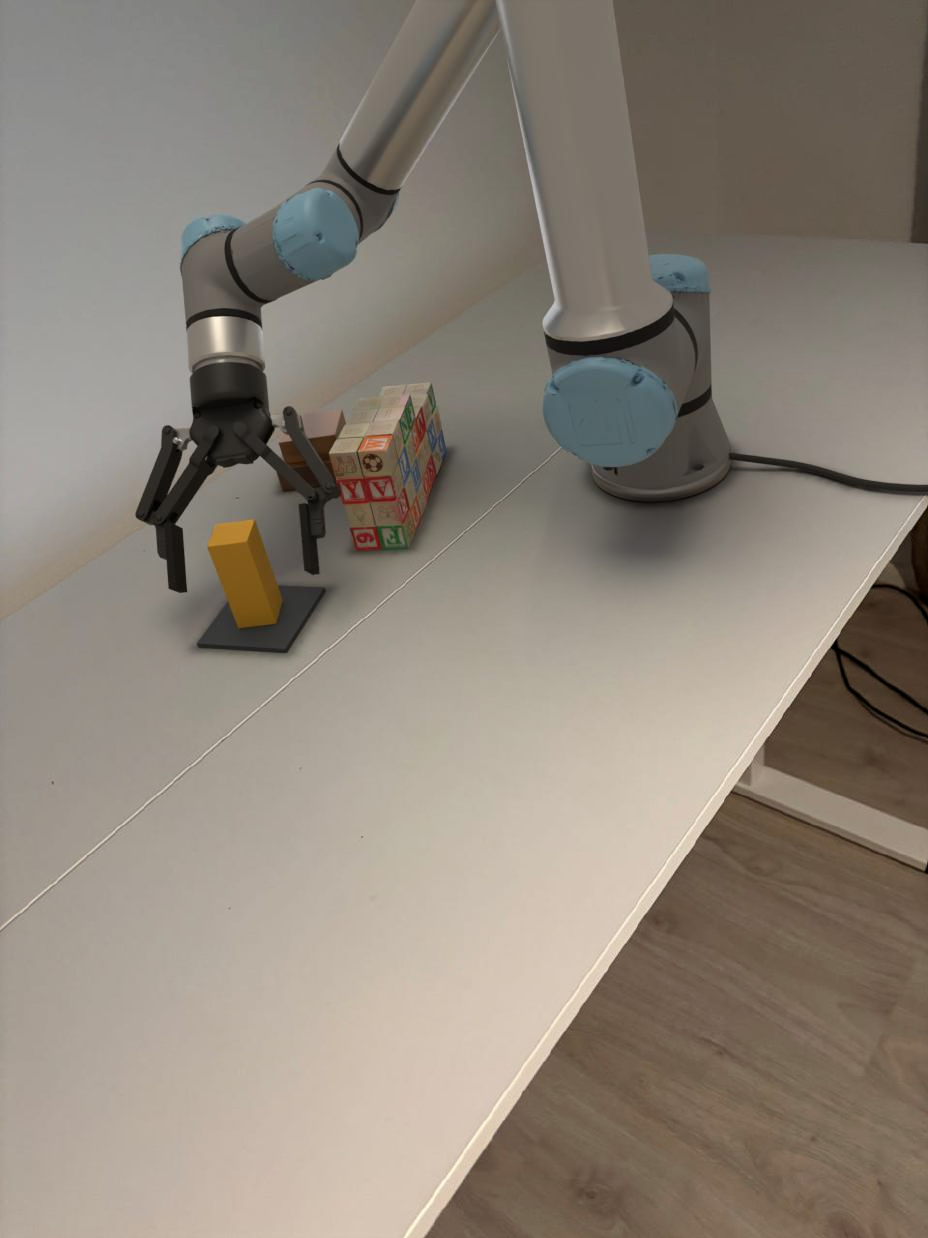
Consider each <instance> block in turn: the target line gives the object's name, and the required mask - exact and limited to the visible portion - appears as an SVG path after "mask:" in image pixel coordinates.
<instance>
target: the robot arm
mask: <svg viewBox="0 0 928 1238" xmlns="http://www.w3.org/2000/svg"><path fill="white" fill-rule="evenodd" d="M615 15H616V14H615V9H614V0H415V2H414V4H413V6H412V7H411V9H410V11H409V13H408V15H407V17H406V19H405V21H404V22H403V24H402V26H401V27H400V29H399V31H398V33H397V35H396V37H395V39H394V40H393V42H392V44H391V47H390V48H389V50H388V52H387V54H386V55H385V56H384V59H383V61H382V62H381V64H380V66H379V68H378V70H377V72H376V73H375V76H374V78H373V79H372V81H371V83H370V84H369V86H368V88H367V90H366V92H365V94H364V96H363V97H362V99H361V101H360V102H359V105H358V106H357V107H356V110H355V112H354V114H353V116H352V117H351V119H350V121H349V123H348V125H347V126H346V128H345V130H344V132H343V134H342V135H341V138H340V139H339V143H338V145H337V146H336V148H335V150H334V151H333V153H332V154H331V156H330V159H329V160H328V162H327V163H326V165H325V167H324V169H323V171H322V172H321V173H320V174H319V175H318V176H317V177H315V178H314V179H313V180H311V181H309V183H307V184H306V185H304V186H303V187H302V188H301V189H299V190H297V191H296V192H295V193H293V194H292V195H290V196H289V197H288V198H286V199H284V200H283V201H282V202H280V203H279V204H277V205H275V206H274V207H273V208H271V209H270V210H268V211H266V212H264V213H262V214H261V215H259V216H257V217H256V218H254V219H252V220H250V221H249V222H246V221H244V220H243V219H240V218H239V217H236V216H232V215H230V214H222V213H214V214H211V215H210V216H208V217H207V216H199V217H196V218H194V219H192V220H191V221H189V222H188V223H187V224H186V225H185V226H184V228H183V230H182V233H181V235H180V236H181V237H180V262H179V272H180V276H181V283H182V292H183V293H182V294H183V306H184V316H185V317H184V319H185V331H186V346H187V348H186V349H187V361H188V362H187V365H188V371H189V372H190V373H191V375H190V376H189V389H190V402H191V403H190V404H191V413H192V423H191V425H190V427H184V428H175V427H174V426H172V425H169V424H166V425H164V426H163V427H162V429H161V439H160V440H161V441H160V442H161V443H160V449H159V451H158V454H157V457H156V459H155V462H154V465H153V467H152V470H151V472H150V474H149V477H148V480H147V482H146V484H145V487H144V489H143V492H142V495H141V497H140V500H139V502H138V506H137V507H136V510H135V513H134V515H135V518H136V519H137V520H139V521H140V522H142V523H145V524H147V525H149V526H154V528H155V535H156V536H155V538H156V539H155V540H156V553H157V555H158V557H159V558H160V559H163V560H165V561H166V574H167V587H168V589H169V590H170V591H173V592H176V593H178V594H183V593H188V583H187V570H186V569H187V567H186V555H185V540H184V528H183V527H181V526H179V525H177V522H178V521H179V519H180V518H181V517H182V515H183V514H184V512H185V511H186V509H187V507H189V505H190V503H191V502H192V500H193V499H194V497H195V496H196V495H197V493H198V492H199V490H200V489H201V487H202V485H203V484H204V482H205V481H206V480H207V478H208V477H209V476H211V475H212V474H213V473H214V472H215V470H217V467H218V466H219V467H222V468H224V469H226V468H232V467H235V466H237V465H253V464H254V462H255V461H257V460H258V459H259V458H262V459H263V460H264V461H265V462H266V463H267V464H268V465H269V466H270V467H271V468H272V469H273V470H274V471H275V472H276V471H277V472H278V473H279V474H280V475H281V476H282V477H283V478H284V479H285V480H286V481H287V482H288V483H289V484H290V485H291V486H293V487H294V488H295V489H294V490H296V492H297V493H299V494H300V495H301V496H302V497H303V498H304V499H305V500H306V502H302V503H298V515H299V528H300V538H301V549H302V558H303V559H302V560H303V561H302V562H303V571H305V572H306V573H308V574H310V575H311V576H315V575H320V574H321V571H320V561H319V550H318V540H319V539H325V538H326V534H327V528H326V517H325V506H326V504H327V503H328V502H329V501H332V500H333V499H336V500H337V499H339V498H341V497H340V496H341V489H340V487H339V486H338V484H337V483H336V481H335V480H334V478H333V477H332V475H331V473H330V472H329V470H328V469H327V467H326V466H325V464H324V463H323V461H322V459H321V458H320V456H319V455H318V453H317V452H316V450H315V448H314V447H313V445H312V444H311V442H310V441H309V439H308V438H307V436H306V434H305V431H304V426H303V421H302V417H301V416H300V415H301V414H300V413H299V412H298V411H297V410H296V409H295V408H294V407H293V406H290V405H288V406H284V408H283V410H282V412H279V413H275V414H271V412H270V402H269V389H268V380H267V379H268V378H267V375H266V373H265V372H264V371H265V369H266V359H265V357H266V356H265V346H264V345H265V344H264V333H263V321H262V320H263V319H262V308H263V306H266V305H268V304H270V303H273V302H275V301H277V300H279V299H280V298H283V297H284V296H287V295H289V294H291V293H294V292H295V291H298V290H300V289H302V288H305V287H307V286H309V285H311V284H313V283H315V282H319V281H321V280H322V281H324V280H326V279H329V278H332V276H333V275H334V274H335V273H337V272H338V271H340V270H342V269H344V268H345V267H347V266H349V265H350V264H351V263H352V262H353V261H354V260H355V258H356V256H357V255H358V250H357V248H358V246H359V245H360V244H361V243H362V242H363V241H364V240H366V239H367V238H368V237H370V236H371V235H372V234H374V233H375V232H377V231H379V230H380V229H381V228H382V227H383V226H384V225H385V224H386V223H387V221H388V220H389V219H390V218H391V216H392V215H393V214H394V212H395V211H396V209H397V207H398V203H399V198H400V191H401V189H402V188H403V187H404V184H405V182H406V181H407V179H408V178H409V176H410V174H411V173H412V171H413V170H414V169H415V167H416V165H417V164H418V162H419V160H420V158H421V157H422V155H423V154H424V152H425V150H426V149H427V147H428V146H429V144H430V142H431V141H432V139H433V138H434V136H435V134H436V133H437V131H438V130H439V128H440V127H441V125H442V123H443V121H444V120H445V118H446V117H447V116H448V113H449V112H450V110H451V109H452V107H453V106H454V104H455V103H456V101H457V100H458V98H459V96H460V95H461V93H462V92H463V90H464V88H465V87H466V85H467V83H468V82H469V80H470V79H471V77H472V76H473V74H474V72H475V71H476V69H477V68H478V66H479V64H480V63H481V62H482V60H483V58H484V56H485V54H486V53H487V51H488V50H489V49H490V47H491V46H492V43H493V42H494V41H495V40H496V38H497V35H498V34H499V32H501V36H502V41H503V47H504V51H505V57H506V62H507V66H508V72H509V77H510V81H511V87H512V92H513V97H514V102H515V107H516V111H517V117H518V122H519V128H520V132H521V137H522V141H523V147H524V152H525V156H526V157H525V158H526V163H527V167H528V172H529V178H530V183H531V187H532V188H531V189H532V192H533V198H534V202H535V207H536V208H535V209H536V212H537V217H538V221H539V222H538V223H539V228H540V232H541V238H542V242H543V247H544V253H545V257H546V263H547V267H548V273H549V277H550V282H551V287H552V293H553V297H554V302H553V304H552V305H551V307H550V308H549V310H547V313H546V314H545V315H544V317H543V319H542V330H543V334H544V338H545V339H544V340H545V345H546V350H547V355H548V359H549V364H550V365H549V366H550V371H551V376H550V378H549V380H547V382H546V384H545V387H544V395H543V399H542V415H543V420H544V423H545V426H546V429H547V431H548V432H549V433H550V434H549V435H551V437H552V438H553V439H554V440H555V442H556V443H557V444H558V445H559V447H561V448H562V449H563V450H564V451H566V452H567V453H571V454H572V455H574V456H575V457H577V458H578V459H579V460H580V461H582V462H585V463H587V464H590V466H591V475H592V478H593V481H594V483H595V484H596V485H597V486H598V487H599V488H600V489H602V490H603V491H604V492H605V493H608V494H609V495H612V496H615V497H618V498H621V499H625V500H630V501H636V502H649V503H651V502H652V503H653V502H654V503H655V502H668V501H675V500H680V499H684V498H688V497H691V496H695V495H698V494H700V493H702V492H704V491H707V490H709V489H710V488H712V487H714V486H715V485H717V484H718V483H719V482H721V481H722V480H723V479H724V478H725V477H726V475H727V474H728V472H729V471H730V469H731V464H732V461H736V462H743V463H744V462H745V463H751V464H752V463H753V464H760V465H769V466H776V467H782V468H790V469H794V470H795V469H796V470H801V471H804V472H809V473H813V474H817V475H821V476H822V477H823V476H824V477H826V478H829V479H833V480H836V481H839V482H842V483H846V484H850V485H853V486H857V487H862V488H867V489H868V488H869V489H875V490H883V491H891V492H906V493H928V484H916V483H915V484H914V483H913V484H911V483H895V482H886V481H885V482H884V481H877V480H871V479H865V478H860V477H857V476H852V475H848V474H846V473H841V472H839V471H835V470H832V469H829V468H825V467H822V466H818V465H815V464H810V463H806V462H801V461H797V460H790V459H783V458H776V457H767V456H760V455H752V454H746V453H736V452H732V449H731V444H730V440H729V437H728V434H727V432H726V430H725V427H724V424H723V421H722V420H721V417H720V414H719V412H718V410H717V407H716V405H715V404H716V403H715V402H714V398H713V389H712V387H713V385H712V383H713V382H712V345H711V344H712V343H711V307H710V306H711V305H710V304H711V303H710V294H711V293H712V288H711V286H710V280H709V279H710V278H709V271H708V267H707V266H706V264H705V263H704V262H703V261H702V260H701V259H700V258H699V259H698V258H697V257H694V256H691V255H684V254H676V253H675V254H674V253H673V254H671V253H661V254H659V253H657V254H650V253H649V249H648V240H647V234H646V227H645V220H644V219H645V218H644V213H643V206H642V198H641V193H640V185H639V184H640V183H639V177H638V170H637V163H636V155H635V149H634V142H633V136H632V135H633V134H632V129H631V122H630V121H631V120H630V114H629V107H628V101H627V100H628V99H627V92H626V86H625V85H626V84H625V77H624V72H623V63H622V57H621V51H620V50H621V49H620V44H619V36H618V30H617V23H616V16H615ZM277 428H278V429H279V430H280V431H281V433H282V432H283V433H284V434H286V435H289V436H290V438H291V439H292V441H293V443H294V444H295V446H296V447H297V449H298V450H299V452H300V454H301V455H302V457H303V458H304V460H305V461H306V463H307V465H308V466H309V468H310V469H311V471H312V472H313V474H314V475H315V477H316V479H317V480H318V482H319V483H320V485H321V486H317V487H316V488H314V487H311V486H310V485H309V484H308V483H307V482H306V481H305V480H304V479H303V478H302V477H301V476H299V475H298V474H297V473H296V472H295V471H294V470H293V469H292V468H291V467H290V466H289V465H288V464H287V463H286V462H285V461H283V460H282V459H281V458H280V457H281V456H280V455H278V454H277V453H276V451H274V450H273V449H272V448H271V447H270V446H269V445H268V443H269V441H270V439H271V438H272V436H273V434H274V432H275V430H276V429H277ZM192 441H193V443H194V444H195V445H196V447H195V449H194V450H193V452H192V454H191V455H190V457H189V459H188V464H187V466H186V467H185V468H184V470H183V471H182V473H181V475H180V476H179V477H178V479H177V480H176V482H175V483H174V485H173V486H172V484H173V482H174V479H175V477H176V474H177V472H178V469H179V467H180V463H181V461H182V457H183V452H184V451H186V450H188V445H189V443H191V442H192ZM277 472H276V473H277ZM171 487H172V488H171Z"/></svg>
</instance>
